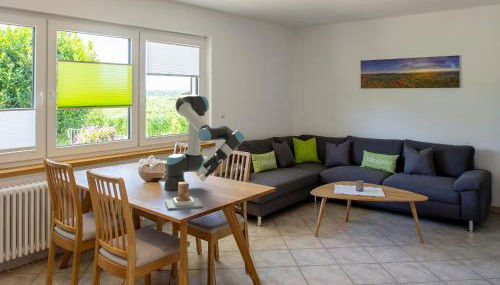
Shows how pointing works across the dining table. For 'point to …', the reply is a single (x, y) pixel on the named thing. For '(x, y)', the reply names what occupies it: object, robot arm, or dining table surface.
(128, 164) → the dining table surface
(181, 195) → the pillar
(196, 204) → the baseplate
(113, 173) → the dining table surface
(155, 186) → the dining table surface
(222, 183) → the dining table surface
